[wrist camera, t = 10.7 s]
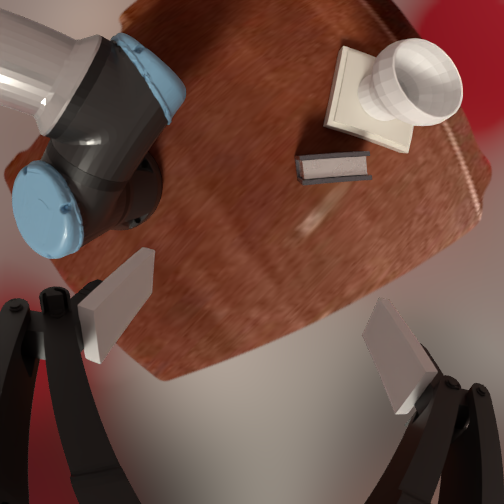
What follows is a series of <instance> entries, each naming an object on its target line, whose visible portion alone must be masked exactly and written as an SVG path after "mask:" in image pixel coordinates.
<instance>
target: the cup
mask: <svg viewBox="0 0 504 504" xmlns="http://www.w3.org/2000/svg"><path fill="white" fill-rule="evenodd" d="M462 97H463V87H462V82H461V77H460V75H459V73H458V70H457V68H456V66H455V65H454V63H453V61H452V60H451V59H450V58H449V56H448V55H447V54H446V53H445V52H444V51H443V50H442V49H440V48H439V47H438V46H436V45H435V44H433V43H431V42H429V41H426V40H423V39H418V38H413V39H406V40H401V41H396V42H394V43H392V44H390V45H388V46H387V47H386V48H385V49H384V50H382V52H381V53H380V54H379V55H378V56H377V57H376V60H375V63H374V65H373V69H372V74H371V75H368V76H366V77H365V78H364V79H363V80H362V81H361V82H360V84H359V87H358V98H359V101H360V104H361V106H362V107H363V109H364V110H365V112H367V113H368V114H369V115H370V116H371V117H373V118H375V119H377V120H380V121H390V120H393V119H395V118H397V119H398V120H401V121H403V122H405V123H408V124H411V125H414V126H429V125H435V124H438V123H441V122H443V121H444V120H446V119H448V118H449V117H451V116H452V115H453V114H455V113H456V112H457V110H458V109H459V107H460V105H461V101H462Z"/></svg>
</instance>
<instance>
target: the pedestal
mask: <svg viewBox="0 0 504 504" xmlns="http://www.w3.org/2000/svg"><path fill="white" fill-rule="evenodd" d="M375 60H376V57H374V56H371V55H368V54H366V53H363V52H360V51H358V50H355V49H352V48H349V47H346V46H343V47H342V48H341V49H340V51H339V52H338V58H337V63H336V68H335V73H334V78H333V83H332V88H331V93H330V97H329V102H328V107H327V111H326V116H325V120H324V125H323V127H326V128H330V129H333V130H336V131H340V132H343V133H346V134H349V135H352V136H355V137H358V138H361V139H364V140H367V141H370V142H373V143H376V144H378V145H381V146H384V147H386V148H389V149H392V150H394V151H397V152H399V153H408V152H409V147H410V142H411V137H412V132H413V127H414V125H411V124H408V123H405V122H403V121H401V120H398V119H397V118H395V119H393V120H390V121H380V120H377V119H375V118H373V117H371V116H370V115H369V114H368V113H367V112H365V110H364V109H363V107H362V106H361V104H360V101H359V98H358V87H359V84H360V82H361V81H362V80H363V79H364V78H365V77H366V76H368V75H371V74H372V69H373V65H374V63H375Z"/></svg>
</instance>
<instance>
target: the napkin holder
mask: <svg viewBox="0 0 504 504" xmlns="http://www.w3.org/2000/svg"><path fill="white" fill-rule="evenodd" d="M366 156H370V151H350V152H333V153H319V154H307V155H297V156H295V164H296V172H297V180H298V181H299V182H300V183H301V184H302V185H311V184H321V183H333V182H345V181H359V180H372V175H368V174H367V167H366Z"/></svg>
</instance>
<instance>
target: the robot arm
mask: <svg viewBox="0 0 504 504" xmlns="http://www.w3.org/2000/svg"><path fill="white" fill-rule="evenodd" d="M185 97H186V88H185V86H184V84H183V82H182V81H181V79H180V78H179V77H178V76H177V75H176V74H175V73H174V72H173V71H172V70H171V69H170V68H169V67H168V66H167V65H166V64H165V63H164V62H163V61H162V60H161V59H160V58H158V57H157V56H156V55H155V54H154V53H152V52H151V51H150V50H149V49H146V48H145V47H144V46H143V45H141V44H140V43H139V42H138V41H137V40H135V39H134V38H132V37H131V36H129V35H127V34H125V33H118V34H117V35H115V36H113V37H112V38H111V41H109V40H107V39H106V38H104V37H102V36H100V35H94V36H91V37H87V38H84V39H81V40H75V39H73V38H71V37H69V36H67V35H65V34H62V33H60V32H58V31H56V30H54V29H51V28H49V27H47V26H45V25H42V24H40V23H38V22H35V21H33V20H30V19H28V18H25V17H23V16H20V15H17V14H15V13H12V12H9V11H6V10H4V9H1V8H0V105H2V106H5V107H8V108H11V109H14V110H18V111H20V112H23V113H26V114H29V115H32V116H33V117H34V118H35V119H36V123H37V126H38V128H39V131H40V134H41V135H43V136H46V137H49V138H51V139H50V141H49V143H48V146H47V148H46V150H45V152H44V154H43V157H42V159H41V160H38V161H33V162H31V163H30V164H29V165H28V166H25V167H24V168H23V169H22V170H21V171H20V172H19V174H18V175H17V177H16V179H15V182H14V186H13V192H12V206H13V213H14V217H15V219H16V223H17V226H18V229H19V231H20V233H21V235H22V237H23V238H24V240H25V241H26V243H27V244H28V245H29V246H30V247H31V248H32V249H33V250H34V251H35V252H36V253H38V254H40V255H41V256H43V257H46V258H50V259H52V258H53V259H55V258H61V257H64V256H66V255H68V254H71V253H74V252H76V251H77V250H79V248H80V247H82V246H84V245H85V244H87V243H89V242H90V241H92V240H93V239H95V238H97V237H98V236H100V235H102V234H104V233H105V232H107V231H109V230H128V229H132V228H134V227H136V226H138V225H140V224H142V223H143V222H145V221H146V220H147V219H148V218H150V216H151V215H152V214H153V213H154V211H155V210H156V208H157V206H158V204H159V201H160V198H161V193H162V178H161V173H160V170H159V167H158V165H157V163H156V161H155V160H154V158H153V157H152V156H151V155H150V153H149V152H148V151H149V149H150V148H151V146H152V145H153V143H154V142H155V140H156V139H157V138H158V136H159V135H160V133H161V132H162V131H163V129H164V128H165V127H166V125H169V124H170V123H171V120H172V117H173V116H174V114H175V113H176V111H177V110H178V109H179V107H180V106H181V104H182V103H183V102H184V100H185ZM154 256H155V250H152V249H148V248H144V247H142V248H141V249H140V250H139V251H138V252H136V253H135V254H134V255H133V256H132V257H130V258H129V259H128V260H127V261H126V262H125V263H123V264H122V265H121V266H120V267H119V268H118V269H117V270H115V271H114V272H113V273H112V274H111V275H110V276H109V277H108V278H106V279H105V280H104V281H101V280H98V279H97V280H95V281H92V282H90V283H88V284H87V285H86V286H85V287H83V289H81V290H80V291H79V292H78V293H76V294H75V295H74V296H73V297H72V298H71V299H70V294H69V291H68V290H66V289H65V288H62V287H49V288H47V289H45V290H43V291H42V292H41V293H40V296H39V299H40V304H41V310H42V312H37V311H31V310H30V308H29V304H28V302H27V301H26V300H24V299H20V298H17V299H11V300H9V301H8V302H6V303H5V304H4V305H3V307H2V309H1V311H0V504H29V489H28V445H29V444H28V443H29V428H30V418H31V409H32V400H33V394H34V388H35V382H36V376H37V371H38V366H39V361H40V359H45V360H46V368H47V375H48V382H49V388H50V394H51V399H52V405H53V410H54V415H55V419H56V423H57V427H58V431H59V435H60V439H61V443H62V446H63V450H64V453H65V456H66V459H67V462H68V465H69V469H70V472H71V477H70V479H71V484H72V487H73V489H74V492H75V494H76V497H77V500H78V502H79V504H141V503H140V501H139V499H138V497H137V496H136V494H135V492H134V490H133V488H132V486H131V485H130V483H129V481H128V479H127V477H126V475H125V473H124V471H123V469H122V468H121V466H120V464H119V462H118V460H117V458H116V456H115V453H114V451H113V449H112V447H111V444H110V442H109V440H108V437H107V434H106V432H105V429H104V427H103V424H102V422H101V419H100V416H99V414H98V411H97V408H96V405H95V402H94V399H93V396H92V393H91V390H90V386H89V383H88V379H87V376H86V373H85V369H84V365H83V361H82V358H81V351H82V350H83V349H84V352H85V357H86V359H89V360H91V361H94V362H96V363H99V364H101V363H102V361H103V360H104V359H105V357H106V356H107V354H108V353H109V351H110V350H111V348H112V347H113V346H114V344H115V343H116V341H117V340H118V339H119V337H120V336H121V334H122V333H123V332H124V330H125V329H126V327H127V326H128V325H129V323H130V322H131V321H132V319H133V318H134V316H135V315H136V314H137V312H138V311H139V310H140V308H141V307H142V306H143V304H144V303H145V302H146V300H147V299H148V298H149V296H150V295H151V294H152V284H153V269H154ZM362 336H363V338H364V341H365V343H366V345H367V347H368V350H369V352H370V354H371V357H372V359H373V361H374V363H375V366H376V368H377V370H378V373H379V375H380V378H381V380H382V382H383V385H384V388H385V390H386V392H387V395H388V397H389V400H390V403H391V405H392V408H393V410H394V412H395V414H407V413H408V412H409V411H410V410H411V408H412V407H413V406H414V405H415V408H416V410H417V411H416V412H415V413H414V415H413V416H412V417H411V419H409V421H408V422H407V423H406V424H405V426H407V425H408V424H409V425H408V427H407V429H406V431H405V434H404V436H403V438H402V440H401V442H400V444H399V446H398V448H397V450H396V452H395V454H394V455H393V457H392V459H391V461H390V463H389V465H388V466H387V468H386V470H385V472H384V473H383V475H382V477H381V478H380V480H379V482H378V483H377V485H376V487H375V488H374V490H373V491H372V493H371V494H370V496H369V497H368V499H367V500H366V502H365V503H364V504H431V499H432V497H433V495H434V492H435V489H436V487H437V484H438V481H439V478H440V476H441V484H440V493H439V501H438V504H504V479H503V467H502V456H501V448H500V441H499V435H498V430H497V424H496V419H495V414H494V409H493V405H492V400H491V397H490V393H489V392H488V390H487V388H486V387H484V385H481V384H479V383H474V384H473V385H472V387H471V388H470V389H469V390H465V389H461V386H460V384H459V382H458V381H457V380H456V379H454V378H453V377H451V376H446V375H445V376H444V375H443V373H442V372H441V370H440V369H439V367H438V366H437V364H436V362H435V361H434V359H433V358H432V356H430V353H429V352H428V350H427V349H426V348H425V347H424V346H423V345H422V344H421V343H419V341H418V340H417V338H416V337H415V335H414V334H413V332H412V331H411V330H410V328H409V327H408V325H407V324H406V322H405V321H404V320H403V318H402V317H401V315H400V314H399V313H398V311H397V310H396V308H395V307H394V305H393V304H392V303H391V301H390V300H389V299H384V298H378V300H377V303H376V305H375V307H374V310H373V312H372V314H371V317H370V319H369V321H368V323H367V325H366V328H365V330H364V332H363V334H362ZM468 424H469V425H468ZM467 425H468V427H467V429H466V426H467Z"/></svg>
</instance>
